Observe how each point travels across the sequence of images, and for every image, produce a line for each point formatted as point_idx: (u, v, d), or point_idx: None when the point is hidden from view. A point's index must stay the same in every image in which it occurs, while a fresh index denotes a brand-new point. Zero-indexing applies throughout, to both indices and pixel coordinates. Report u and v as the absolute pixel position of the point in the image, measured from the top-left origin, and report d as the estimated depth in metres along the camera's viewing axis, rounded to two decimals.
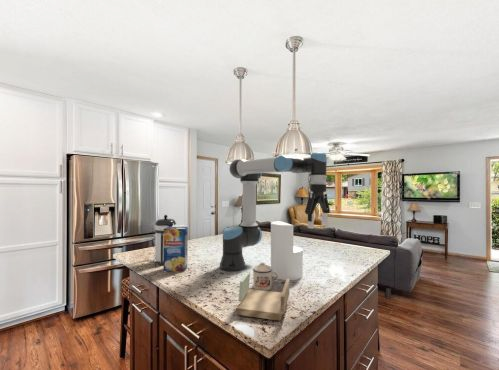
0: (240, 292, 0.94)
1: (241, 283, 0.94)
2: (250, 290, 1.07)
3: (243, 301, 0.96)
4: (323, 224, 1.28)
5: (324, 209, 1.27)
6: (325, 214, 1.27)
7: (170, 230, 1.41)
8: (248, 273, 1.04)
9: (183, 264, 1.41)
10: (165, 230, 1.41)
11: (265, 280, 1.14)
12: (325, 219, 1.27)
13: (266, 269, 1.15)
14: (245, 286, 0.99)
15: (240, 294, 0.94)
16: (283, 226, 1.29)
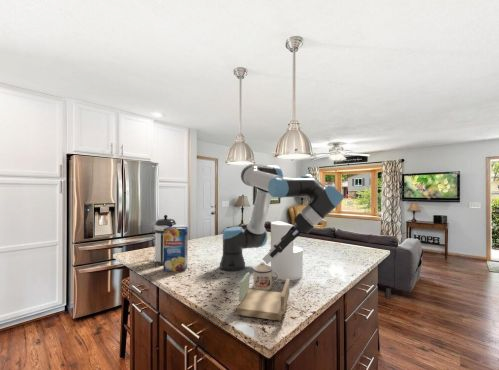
0: (240, 292, 0.94)
1: (241, 283, 0.94)
2: (250, 290, 1.07)
3: (243, 301, 0.96)
4: None
5: None
6: None
7: (170, 230, 1.41)
8: (248, 273, 1.04)
9: (183, 264, 1.41)
10: (165, 230, 1.41)
11: (265, 280, 1.14)
12: None
13: (266, 269, 1.15)
14: (245, 286, 0.99)
15: (240, 294, 0.94)
16: (283, 226, 1.29)
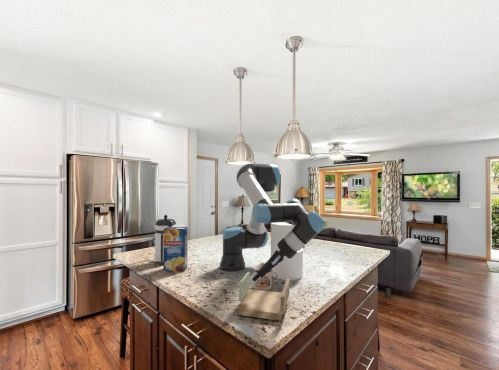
0: (240, 292, 0.94)
1: (241, 283, 0.94)
2: (250, 290, 1.07)
3: (243, 301, 0.96)
4: None
5: None
6: None
7: (170, 230, 1.41)
8: (248, 273, 1.04)
9: (183, 264, 1.41)
10: (165, 230, 1.41)
11: (265, 280, 1.14)
12: None
13: None
14: (245, 286, 0.99)
15: (240, 294, 0.94)
16: (283, 226, 1.29)
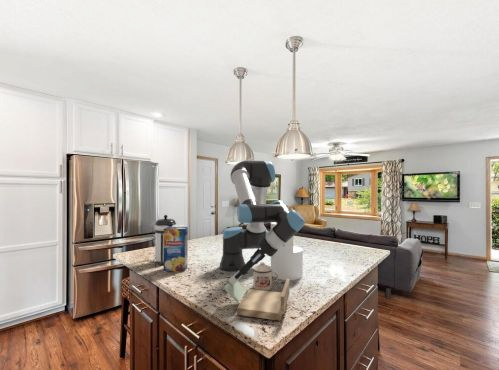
0: (231, 295, 0.95)
1: (225, 288, 0.96)
2: (250, 290, 1.07)
3: (243, 301, 0.96)
4: None
5: None
6: None
7: (170, 230, 1.41)
8: None
9: (183, 264, 1.41)
10: (165, 230, 1.41)
11: (265, 280, 1.14)
12: None
13: (266, 269, 1.15)
14: (235, 288, 1.00)
15: (233, 296, 0.95)
16: None
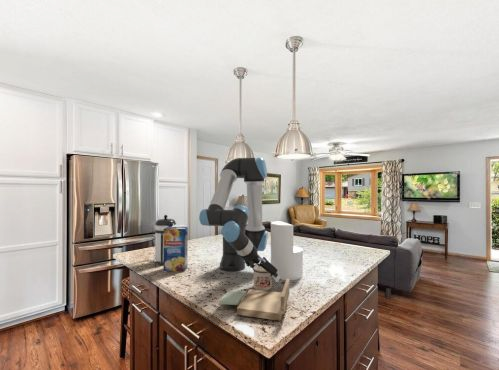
0: (229, 303, 0.95)
1: (220, 302, 0.96)
2: (250, 290, 1.07)
3: (243, 301, 0.96)
4: None
5: None
6: None
7: (170, 230, 1.41)
8: (227, 292, 1.06)
9: (183, 264, 1.41)
10: (165, 230, 1.41)
11: (265, 280, 1.14)
12: None
13: None
14: (231, 296, 1.00)
15: (230, 303, 0.95)
16: (283, 226, 1.29)
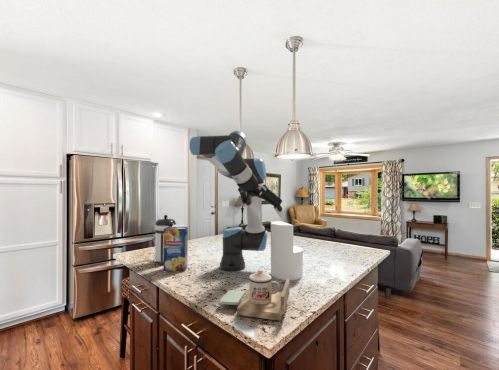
0: (229, 303, 0.95)
1: (220, 302, 0.96)
2: None
3: (243, 301, 0.96)
4: None
5: None
6: None
7: (170, 230, 1.41)
8: (227, 292, 1.06)
9: (183, 264, 1.41)
10: (165, 230, 1.41)
11: (263, 292, 0.93)
12: None
13: (265, 279, 0.94)
14: (231, 296, 1.00)
15: (230, 303, 0.95)
16: (283, 226, 1.29)
